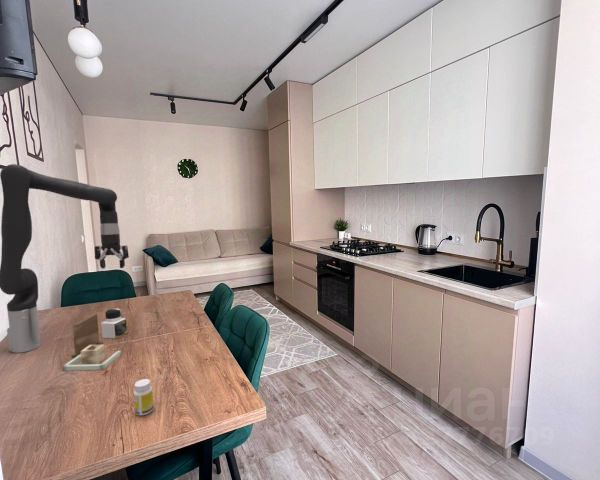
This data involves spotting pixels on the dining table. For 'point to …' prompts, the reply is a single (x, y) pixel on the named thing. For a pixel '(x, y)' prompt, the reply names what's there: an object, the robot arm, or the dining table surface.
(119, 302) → the dining table surface
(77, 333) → the screen
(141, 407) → the supplement bottle
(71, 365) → the bay
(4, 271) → the robot arm
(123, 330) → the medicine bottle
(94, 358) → the letter cube
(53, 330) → the dining table surface
